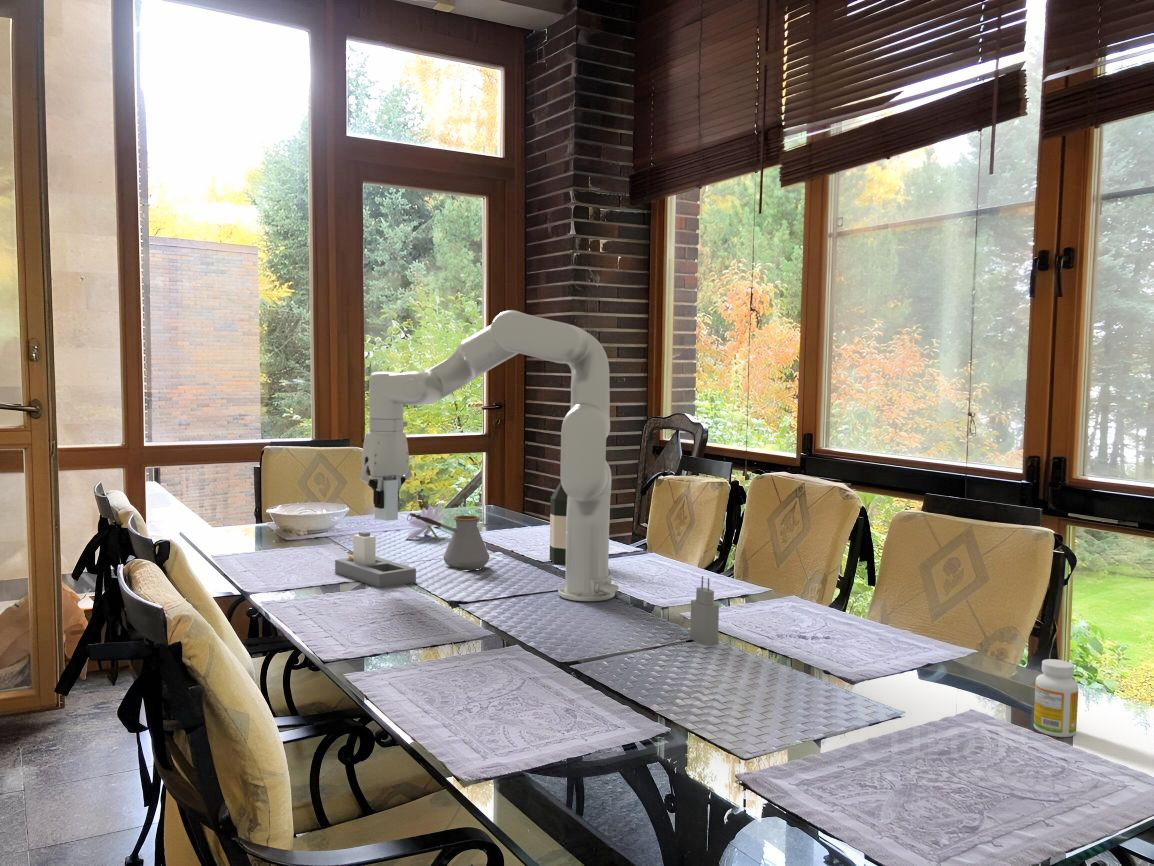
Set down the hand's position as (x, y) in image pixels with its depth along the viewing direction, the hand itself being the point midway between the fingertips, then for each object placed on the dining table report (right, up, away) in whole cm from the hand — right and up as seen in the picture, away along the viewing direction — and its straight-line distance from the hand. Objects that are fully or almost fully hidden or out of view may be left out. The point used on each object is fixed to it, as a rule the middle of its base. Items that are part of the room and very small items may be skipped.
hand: (386, 506), depth 210 cm
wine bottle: (+40, -17, +31) cm, 54 cm away
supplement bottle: (+111, -26, -80) cm, 139 cm away
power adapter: (+67, -22, -39) cm, 80 cm away
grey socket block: (-4, -18, +5) cm, 19 cm away
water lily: (-1, -14, +61) cm, 63 cm away
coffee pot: (+12, -17, +18) cm, 27 cm away
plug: (0, -3, 0) cm, 3 cm away
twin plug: (-7, -17, +8) cm, 20 cm away
